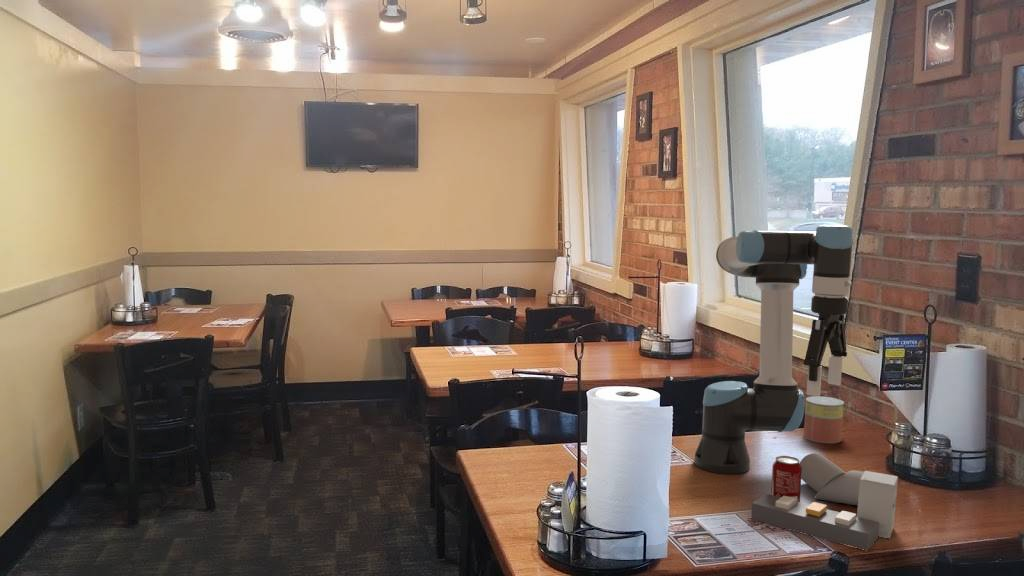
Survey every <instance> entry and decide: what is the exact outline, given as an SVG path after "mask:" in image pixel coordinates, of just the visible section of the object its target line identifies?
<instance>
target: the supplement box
mask: <svg viewBox="0 0 1024 576" xmlns="http://www.w3.org/2000/svg"><path fill="white" fill-rule="evenodd" d="M863 472H864V473H863V475H862V477H861V478H860V484H859V496H858V506H857V509H856V510H857V511H856V517H859V518H863V519H867V520H871V521H875V522H879V531H878V536H879V537H878V538H881V537H883V538H882V539H886V538H889V539H888V540H890V539H891V537H892V533H893V530H894V527H895V519H896V518H895V517H896V507H897V506H896V505H897V493H898V481H899V480H898V479H899V476H897V475H893V474H886V473H881V472H875V471H870V470H864V471H863Z"/></svg>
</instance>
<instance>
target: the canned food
mask: <svg viewBox="0 0 1024 576" xmlns="http://www.w3.org/2000/svg"><path fill="white" fill-rule="evenodd" d="M844 406H845V402H844V401H843V400H842V399H839V398H835V397H831V396H822V395H820V396H813V395H810V396H808V397H806V398H805V408H804V426H803V434H802V435H803V438H804V439H806V440H808V441H810V442H811V441H812V442H816V443H820V444H821V443H822V444H837V443H840V441H841V442H842V441H843V440H842V439H843V438H842V437H843V436H842V435H843V434H842V433H843V421H844Z"/></svg>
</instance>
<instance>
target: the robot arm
mask: <svg viewBox="0 0 1024 576" xmlns="http://www.w3.org/2000/svg"><path fill="white" fill-rule="evenodd" d="M853 245H854V242H853V229H852V227H851V226H850V225H839V224H838V225H837V224H822V225H818V226H817V227H816V229H815V230H811V231H778V230H777V231H771V230H756V229H755V230H754V229H752V230H742V231H740V232H739V233H738V235H737V236H732V237H728V238H726V239H725V240H723V241H722V242H721V243H720V244H719V245H718V246H717V249H716V253H715V259H716V262H717V264H718V265H719V267H720V268H721V269H722V270H723V271H725V272H727V273H729V274H730V275H733V276H736V277H743V278H755V286H757V287H758V288H759V289H760V295H761V296H760V298H761V299H760V333H759V336H760V337H759V339H760V340H759V342H760V343H759V375H758V377H757V378H756V379H754V381H753V388H750V387H749V386H748V384H747V383H745V382H743V381H735V380H724V381H718V382H714V383H711V384H709V385H707V387H705V389H704V393H703V399H702V405H703V407H702V427H701V438H700V440H699V443H698V445H697V448H696V450H695V453H694V461H693V462H694V464H695V465H696V467H698V468H700V469H701V470H705V471H708V472H712V473H717V474H725V475H726V474H727V475H731V474H741V473H742V474H743V473H746V472H747V471H749V470H750V468H751V458H750V455H749V451H748V447H747V445H746V440H745V439H746V431H759V432H778V433H782V432H795V431H796V430H797V429H798V428H799V427H801V426H800V425H801V424H802V422H803V418H804V416H805V407H806V399H805V394H804V392H803V390H802V389H800V388H798V383H797V381H796V380H795V379H794V378H793V343H794V342H793V340H794V339H793V338H794V337H793V334H794V333H793V331H794V328H793V327H794V326H793V325H794V291H795V290H796V289H797V288H798V287H799V286H800V280H802V279H805V277H806V276H807V272H808V271H807V270H808V265H813V273H812V274H813V275H812V286H811V293H812V294H814V295H812V296H811V304H810V307H811V308H810V311H811V312H813V313H815V314H817V315H818V317H817V318H818V319H812V321H811V331H810V336H809V339H808V344H807V348H806V353H805V357H804V360H803V365H804V366H807V379H806V380H807V383H806V396H807V395H808V396H821V388H822V372H823V366H822V364H821V363H822V361H823V358H824V354H825V352H826V348H827V345H828V347H829V349H830V354H831V355H829V356H828V375H827V384H828V385H834V386H841V385H842V375H843V374H842V372H843V371H842V369H843V357H844V358H847V356H848V352H847V342H846V333H845V332H846V331H845V315H847V313H848V307H849V299H848V297H847V296H848V295H849V290H850V287H852V282H851V281H850V277H851V274H850V273H851V267H852V266H851V263H852V262H851V261H852V249H853Z"/></svg>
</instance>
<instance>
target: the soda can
mask: <svg viewBox="0 0 1024 576" xmlns="http://www.w3.org/2000/svg"><path fill="white" fill-rule="evenodd" d="M800 462H801V460H800V459H799V458H797V457H795V456H791V455H778V456H776V457H775V461H774V462H772V470H771V487H770V488H771V489H770V490H771V491H770V495H774V496H778V497H783V496H788V497H792V498H795V499H796V501H797V502H801V489H802V479H801V474H802V467H801V465H800Z"/></svg>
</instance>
